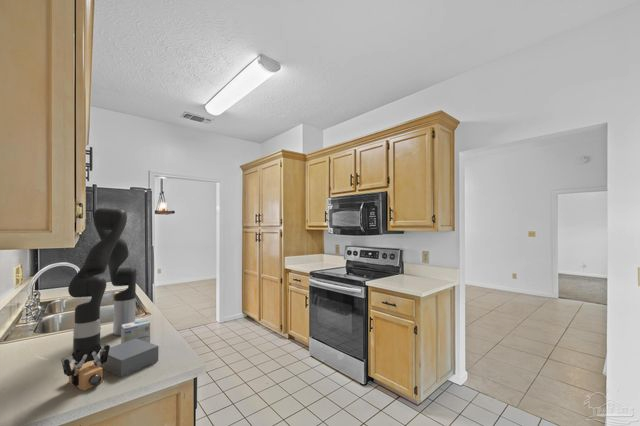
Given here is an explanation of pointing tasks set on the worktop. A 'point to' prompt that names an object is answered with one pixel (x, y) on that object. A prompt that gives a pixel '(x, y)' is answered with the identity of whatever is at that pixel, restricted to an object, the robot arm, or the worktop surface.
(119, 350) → the stand
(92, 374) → the block
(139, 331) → the light bulb box
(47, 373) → the worktop surface
